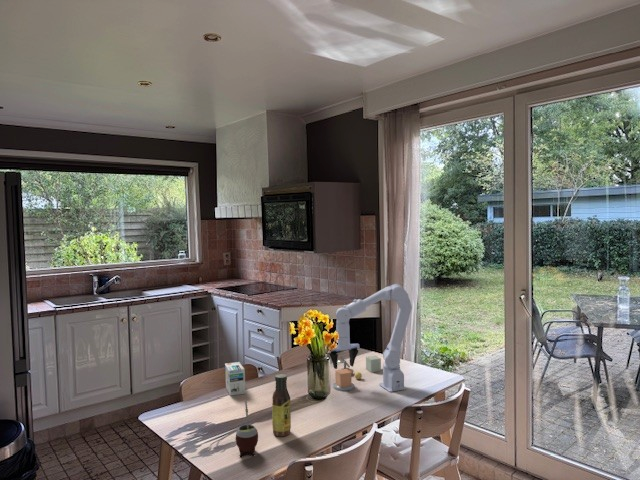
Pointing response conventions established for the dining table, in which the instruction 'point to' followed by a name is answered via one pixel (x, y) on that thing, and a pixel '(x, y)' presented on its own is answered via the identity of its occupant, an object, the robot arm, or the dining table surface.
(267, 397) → the dining table surface
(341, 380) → the peach matte cube
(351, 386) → the saucer
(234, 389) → the light bulb box
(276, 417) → the sauce bottle
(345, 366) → the balance
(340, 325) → the robot arm
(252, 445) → the mate gourd
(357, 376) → the ball
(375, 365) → the sage green cube
